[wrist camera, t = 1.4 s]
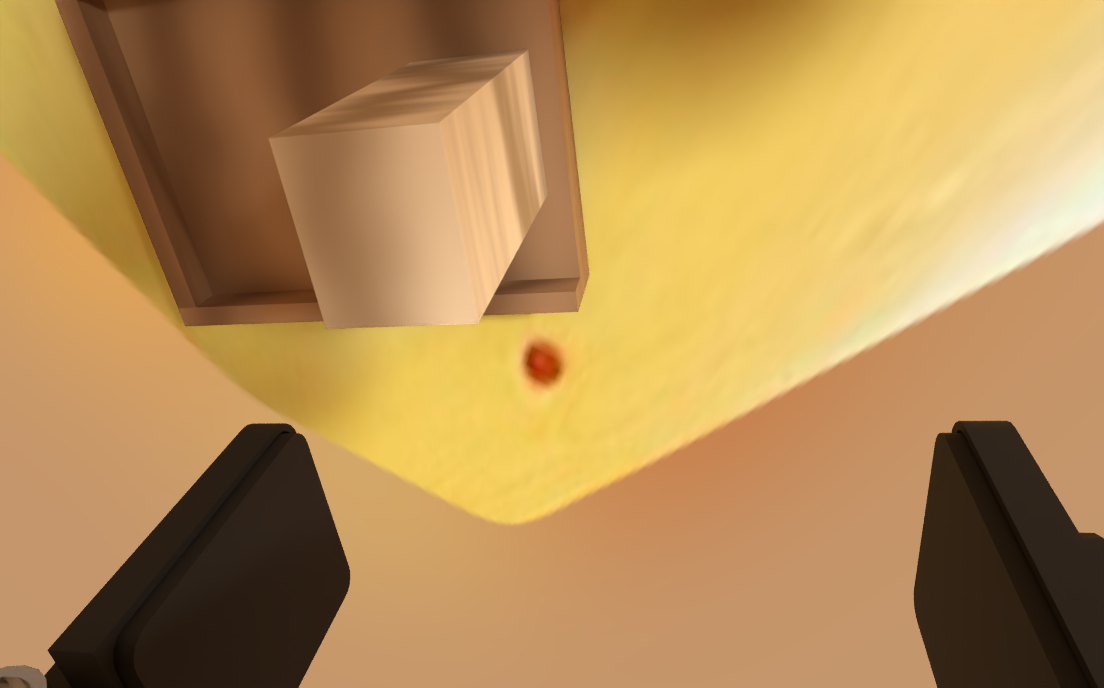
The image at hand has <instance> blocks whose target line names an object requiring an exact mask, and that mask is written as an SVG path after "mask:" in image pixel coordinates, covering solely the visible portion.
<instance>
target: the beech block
mask: <svg viewBox="0 0 1104 688" xmlns="http://www.w3.org/2000/svg"><path fill="white" fill-rule="evenodd" d="M269 142H270V145H271V149H272V152H273V155H274V158H275V162H276V165H277V168H278V172H279V175H280V178H281V182H282V185H283V188H284V191H285V195H286V198H287V201H288V205H289V208H290V211H291V215H292V218H293V221H294V224H295V228H296V231H297V234H298V238H299V241H300V244H301V248H302V251H303V254H304V257H305V261H306V264H307V267H308V271H309V274H310V277H311V281H312V284H313V287H314V290H315V294H316V297H317V300H318V304H319V307H320V310H321V314H322V317H323V320H324V323H325V327H326V329H337V328H366V327H396V326H425V325H454V324H478V323H479V321H480V319H481V317H482V316H483V314H484V312H485V310H486V308H487V306H488V304H489V303H490V301H491V299H492V297H493V295H494V293H495V291H496V290H497V288H498V286H499V284H500V282H501V280H502V278H503V277H504V275H505V273H506V271H507V269H508V267H509V265H510V264H511V262H512V260H513V258H514V256H515V254H516V252H517V251H518V249H519V247H520V245H521V243H522V241H523V239H524V238H525V236H526V234H527V232H528V230H529V228H530V226H531V224H532V223H533V221H534V219H535V217H536V215H537V213H538V211H539V210H540V208H541V206H542V204H543V202H544V200H545V198H546V197H547V195H548V194H547V187H546V179H545V172H544V164H543V157H542V149H541V142H540V135H539V127H538V120H537V112H536V105H535V97H534V90H533V82H532V75H531V67H530V60H529V52H528V50H519V51H510V52H501V53H492V54H483V55H474V56H465V57H456V58H447V59H438V60H429V61H420V62H411V63H408V64H407V65H405V66H403V67H401V68H399V69H397V70H395V71H394V72H392V73H390V74H388V75H386V76H384V77H382V78H380V79H379V80H377V81H375V82H373V83H371V84H369V85H367V86H366V87H364V88H362V89H360V90H358V91H356V92H354V93H353V94H351V95H349V96H347V97H345V98H343V99H341V100H339V101H338V102H336V103H334V104H332V105H330V106H328V107H326V108H325V109H323V110H321V111H319V112H317V113H315V114H313V115H311V116H310V117H308V118H306V119H304V120H302V121H300V122H298V123H297V124H295V125H293V126H291V127H289V128H287V129H285V130H283V131H282V132H280V133H278V134H276V135H274V136H272V137H270V138H269Z"/></svg>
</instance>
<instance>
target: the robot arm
mask: <svg viewBox="0 0 1104 688" xmlns="http://www.w3.org/2000/svg"><path fill="white" fill-rule="evenodd" d="M349 584H350V570H349V566H348V562H347V559H346V556H345V553H344V550H343V547H342V544H341V541H340V538H339V536H338V533H337V530H336V527H335V524H334V521H333V518H332V515H331V512H330V509H329V506H328V503H327V500H326V497H325V494H324V491H323V488H322V485H321V482H320V479H319V476H318V473H317V470H316V467H315V464H314V461H313V458H312V455H311V452H310V449H309V446H308V443H307V441H306V439H305V437H304V436H303V435H302V434H298V433H296V431H295V429H294V428H293V427H292V426H291V425H289V424H249V425H247V426H246V427H244V428H243V429H242V430H241V431H240V432H239V434H238V435H237V436H236V437H235V438H234V439H233V440H232V441H231V443H230V444H229V445H228V446H227V447H226V448H225V449H224V451H223V452H222V453H221V454H220V455H219V456H218V457H217V459H216V460H215V461H214V462H213V463H212V464H211V465H210V466H209V468H208V469H207V470H206V471H205V472H204V473H203V474H202V476H201V477H200V478H199V479H198V480H197V482H196V483H194V485H193V486H192V487H191V488H190V489H189V490H188V491H187V493H186V494H185V495H184V496H183V497H182V498H181V499H180V501H179V502H178V503H177V504H176V505H175V506H174V507H173V508H172V510H171V511H170V512H169V513H168V514H167V515H166V516H165V517H164V519H163V520H162V521H161V522H160V523H159V524H158V526H157V527H156V528H155V529H154V530H153V531H152V532H151V533H150V534H149V536H148V537H147V538H146V539H145V540H144V541H143V543H142V544H141V545H140V546H139V547H138V548H137V549H136V550H135V552H134V553H133V554H132V555H131V556H130V557H129V558H128V559H127V561H126V562H125V563H124V564H123V565H122V566H121V567H120V569H119V570H118V571H117V572H116V573H115V574H114V575H113V577H112V578H111V579H110V580H109V581H108V582H107V584H105V586H104V587H103V588H102V589H101V590H100V591H99V593H97V595H96V596H95V597H94V598H93V599H92V600H91V601H90V603H89V604H88V605H87V606H86V607H85V608H84V609H83V611H82V612H81V613H80V614H79V615H78V616H77V617H76V618H75V620H74V621H73V622H72V623H71V624H70V625H69V626H68V628H67V629H66V630H65V631H64V632H63V633H62V634H61V636H60V637H59V638H58V639H57V640H56V641H55V642H54V644H53V645H52V646H51V647H50V648H49V649H48V652H49V653H50V655H51V656H52V658H53V659H54V661H55V664H54V665H53V666H52V667H51V669H50V670H49V671H48V672H47V673H46V674H45V676H44V675H43V674H42V673H41V672H40V671H39V669H35V668H32V667H29V666H25V665H23V666H7V667H4V668H0V688H298V687H299V685H300V683H301V681H302V679H303V677H304V676H305V674H306V672H307V670H308V668H309V666H310V664H311V662H312V660H313V658H314V656H315V654H316V652H317V650H318V648H319V647H320V645H321V643H322V641H323V639H324V637H325V635H326V633H327V631H328V629H329V627H330V625H331V623H332V621H333V619H334V617H335V616H336V614H337V612H338V610H339V608H340V606H341V604H342V602H343V600H344V598H345V596H346V594H347V592H348V588H349ZM914 606H915V613H916V618H917V622H918V625H919V629H920V632H921V635H922V638H923V642H924V645H925V648H926V651H927V655H928V658H929V661H930V665H931V668H932V671H933V674H934V678H935V681H936V684H937V688H1104V538H1102V537H1100V536H1099V535H1097V534H1095V533H1079V532H1078V530H1077V529H1076V527H1075V525H1074V524H1073V522H1072V521H1071V519H1070V517H1069V516H1068V514H1067V512H1066V511H1065V509H1064V507H1063V506H1062V504H1061V502H1060V501H1059V499H1058V497H1057V496H1056V494H1055V493H1054V491H1053V489H1052V488H1051V486H1050V484H1049V483H1048V481H1047V479H1046V478H1045V476H1044V474H1043V473H1042V471H1041V470H1040V468H1039V466H1038V465H1037V463H1036V461H1035V460H1034V458H1033V456H1032V455H1031V453H1030V451H1029V450H1028V448H1027V446H1026V445H1025V443H1024V441H1023V440H1022V438H1021V437H1020V435H1019V433H1018V432H1017V430H1016V428H1015V427H1014V426H1013V425H1012V423H1011V422H1008V421H958V422H956V423H955V424H954V426H953V429H952V433H939V434H938V436H937V438H936V442H935V448H934V455H933V462H932V469H931V475H930V483H929V490H928V496H927V504H926V510H925V517H924V524H923V531H922V538H921V545H920V552H919V559H918V566H917V573H916V580H915V587H914Z"/></svg>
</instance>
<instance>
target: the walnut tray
mask: <svg viewBox="0 0 1104 688" xmlns="http://www.w3.org/2000/svg"><path fill="white" fill-rule="evenodd" d="M55 2H56V5H57V7H58V10H59V12H60V15H61V17H62V20H63V22H64V25H65V27H66V30H67V32H68V35H69V37H70V40H71V42H72V45H73V47H74V50H75V52H76V55H77V57H78V60H79V62H80V65H81V67H82V69H83V72H84V74H85V77H86V79H87V82H88V84H89V87H90V89H91V92H92V94H93V97H94V99H95V102H96V104H97V107H98V109H99V112H100V114H101V117H102V119H103V122H104V124H105V127H106V129H107V132H108V134H109V137H110V139H111V142H112V144H113V147H114V149H115V152H116V154H117V157H118V159H119V162H120V164H121V167H122V169H123V172H124V174H125V177H126V179H127V182H128V184H129V187H130V189H131V192H132V194H133V196H134V199H135V201H136V204H137V206H138V209H139V211H140V214H141V216H142V219H143V221H144V224H145V226H146V229H147V231H148V234H149V236H150V239H151V241H152V244H153V246H154V249H155V251H156V254H157V256H158V259H159V261H160V264H161V266H162V269H163V271H164V274H165V276H166V279H167V281H168V284H169V286H170V289H171V291H172V294H173V296H174V299H175V301H176V304H177V306H178V309H179V311H180V314H181V316H182V319H183V321H184V323H185V326H204V325H231V324H258V323H285V322H313V321H324V320H323V317H322V314H321V310H320V307H319V304H318V300H317V297H316V294H315V290H314V287H313V284H312V281H311V277H310V274H309V271H308V267H307V264H306V261H305V257H304V254H303V251H302V248H301V244H300V241H299V238H298V234H297V231H296V228H295V224H294V221H293V218H292V215H291V211H290V208H289V205H288V201H287V198H286V195H285V191H284V188H283V185H282V182H281V178H280V175H279V172H278V168H277V165H276V162H275V158H274V155H273V152H272V149H271V145H270V142H269V138H270V137H272V136H274V135H276V134H278V133H280V132H282V131H283V130H285V129H287V128H289V127H291V126H293V125H295V124H297V123H298V122H300V121H302V120H304V119H306V118H308V117H310V116H311V115H313V114H315V113H317V112H319V111H321V110H323V109H325V108H326V107H328V106H330V105H332V104H334V103H336V102H338V101H339V100H341V99H343V98H345V97H347V96H349V95H351V94H353V93H354V92H356V91H358V90H360V89H362V88H364V87H366V86H367V85H369V84H371V83H373V82H375V81H377V80H379V79H380V78H382V77H384V76H386V75H388V74H390V73H392V72H394V71H395V70H397V69H399V68H401V67H403V66H405V65H407V64H408V63H411V62H420V61H429V60H438V59H447V58H456V57H465V56H474V55H483V54H492V53H501V52H510V51H519V50H528V52H529V60H530V67H531V75H532V82H533V90H534V97H535V105H536V112H537V120H538V127H539V135H540V142H541V149H542V157H543V164H544V172H545V179H546V187H547V194H548V195H547V197H546V198H545V200H544V202H543V204H542V206H541V208H540V210H539V211H538V213H537V215H536V217H535V219H534V221H533V223H532V224H531V226H530V228H529V230H528V232H527V234H526V236H525V238H524V239H523V241H522V243H521V245H520V247H519V249H518V251H517V252H516V254H515V256H514V258H513V260H512V262H511V264H510V265H509V267H508V269H507V271H506V273H505V275H504V277H503V278H502V280H501V282H500V284H499V286H498V288H497V290H496V291H495V293H494V295H493V297H492V299H491V301H490V303H489V304H488V306H487V308H486V310H485V312H484V314H483V315H504V314H531V313H558V312H578V310H579V307H580V303H581V300H582V297H583V294H584V290H585V287H586V284H587V281H588V277H589V268H588V259H587V250H586V241H585V232H584V223H583V214H582V205H581V196H580V188H579V179H578V170H577V161H576V152H575V143H574V134H573V125H572V116H571V107H570V99H569V90H568V81H567V72H566V63H565V54H564V45H563V36H562V27H561V18H560V10H559V1H558V0H55Z"/></svg>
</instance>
